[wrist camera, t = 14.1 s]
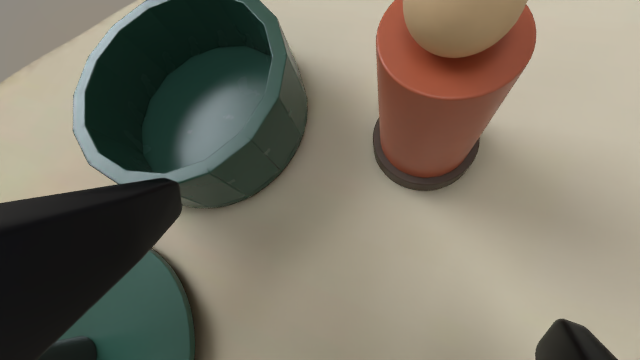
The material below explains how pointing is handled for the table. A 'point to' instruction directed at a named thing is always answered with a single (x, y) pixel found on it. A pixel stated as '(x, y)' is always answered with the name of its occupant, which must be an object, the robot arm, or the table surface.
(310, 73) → the table surface
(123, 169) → the pot
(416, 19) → the peg doll
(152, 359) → the pot lid
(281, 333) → the table surface
